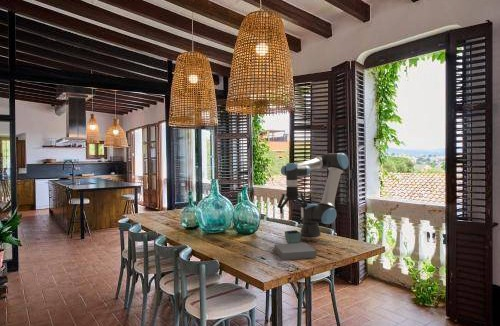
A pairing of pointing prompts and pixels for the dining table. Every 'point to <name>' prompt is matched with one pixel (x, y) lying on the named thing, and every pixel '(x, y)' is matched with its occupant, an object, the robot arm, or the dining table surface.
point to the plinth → (295, 251)
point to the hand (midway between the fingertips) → (292, 217)
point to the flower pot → (292, 236)
